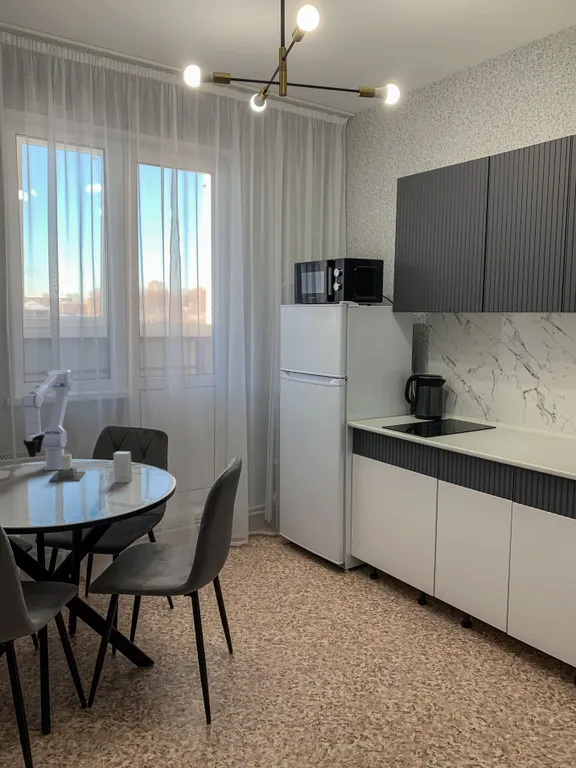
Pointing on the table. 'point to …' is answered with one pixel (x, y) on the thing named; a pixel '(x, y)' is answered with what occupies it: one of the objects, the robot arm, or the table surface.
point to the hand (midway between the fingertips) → (35, 454)
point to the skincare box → (122, 466)
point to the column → (66, 462)
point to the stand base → (67, 475)
